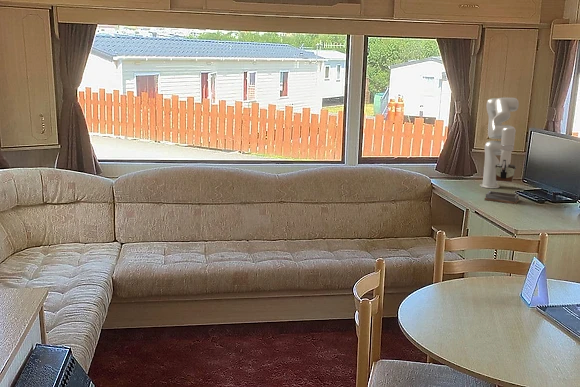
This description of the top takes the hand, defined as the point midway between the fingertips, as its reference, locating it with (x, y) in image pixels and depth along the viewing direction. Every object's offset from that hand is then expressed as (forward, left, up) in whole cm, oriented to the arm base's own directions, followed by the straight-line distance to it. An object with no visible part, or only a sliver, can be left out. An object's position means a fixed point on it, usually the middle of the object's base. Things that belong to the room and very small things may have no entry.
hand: (504, 177), depth 342 cm
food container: (-1, 0, -2) cm, 3 cm away
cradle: (0, 0, -14) cm, 14 cm away
